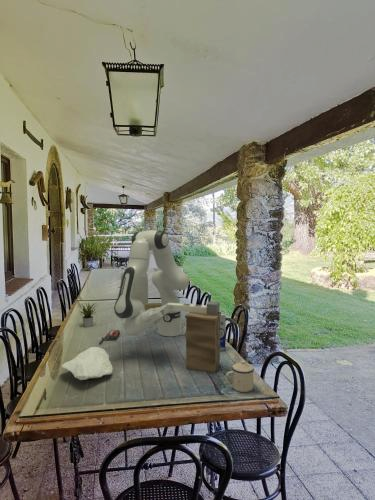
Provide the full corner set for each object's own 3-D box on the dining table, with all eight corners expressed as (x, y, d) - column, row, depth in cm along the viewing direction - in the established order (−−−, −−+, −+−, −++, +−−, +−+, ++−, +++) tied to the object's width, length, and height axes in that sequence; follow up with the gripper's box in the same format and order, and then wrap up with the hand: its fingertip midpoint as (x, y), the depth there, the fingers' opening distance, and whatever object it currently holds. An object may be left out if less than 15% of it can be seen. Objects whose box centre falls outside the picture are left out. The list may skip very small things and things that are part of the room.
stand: (191, 359, 187) (192, 309, 184) (220, 363, 182) (221, 312, 180) (184, 369, 175) (184, 315, 173) (215, 373, 171) (216, 318, 168)
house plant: (104, 323, 250) (103, 299, 248) (97, 329, 236) (96, 304, 235) (83, 322, 251) (83, 299, 250) (75, 328, 238) (75, 304, 236)
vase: (118, 311, 282) (117, 267, 279) (143, 308, 290) (143, 266, 287) (125, 317, 263) (124, 271, 260) (151, 314, 272) (151, 269, 269)
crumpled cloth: (50, 388, 153) (53, 367, 152) (70, 355, 188) (72, 338, 187) (107, 394, 155) (110, 373, 154) (116, 361, 190) (119, 344, 189)
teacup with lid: (250, 382, 162) (250, 356, 161) (256, 392, 153) (256, 364, 152) (223, 383, 160) (223, 357, 159) (228, 393, 151) (228, 366, 150)
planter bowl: (166, 324, 248) (166, 308, 247) (143, 323, 249) (142, 308, 248) (168, 317, 264) (168, 302, 263) (146, 317, 265) (146, 302, 264)
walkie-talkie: (107, 334, 228) (97, 345, 208) (106, 327, 227) (97, 338, 208) (121, 334, 227) (113, 345, 208) (120, 327, 227) (112, 338, 207)
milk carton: (213, 351, 198) (213, 315, 196) (209, 347, 204) (209, 312, 202) (225, 350, 200) (226, 314, 198) (221, 346, 206) (221, 311, 204)
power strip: (169, 307, 188) (169, 298, 187) (219, 311, 180) (219, 302, 180) (165, 310, 182) (165, 300, 182) (216, 315, 174) (216, 304, 174)
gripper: (140, 317, 178) (163, 305, 174) (156, 307, 198) (177, 296, 194) (146, 328, 178) (169, 317, 174) (161, 317, 197) (182, 306, 193)
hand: (173, 306), depth 184 cm, fingers open, 5 cm apart
